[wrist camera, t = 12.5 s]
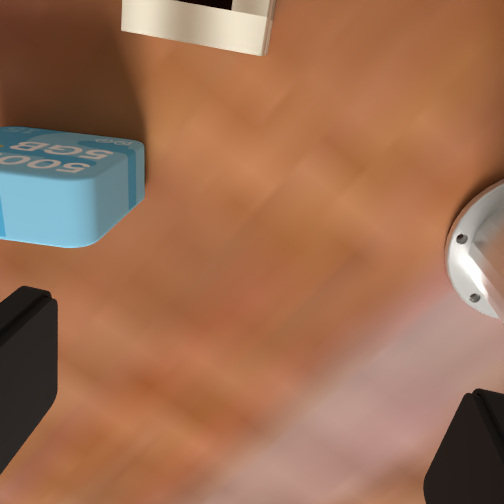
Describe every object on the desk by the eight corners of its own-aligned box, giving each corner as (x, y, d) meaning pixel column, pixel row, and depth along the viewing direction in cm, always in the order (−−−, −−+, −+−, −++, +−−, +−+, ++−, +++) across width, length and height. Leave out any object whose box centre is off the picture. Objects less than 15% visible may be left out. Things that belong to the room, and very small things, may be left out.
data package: (150, 141, 37) (84, 180, 26) (150, 194, 39) (88, 252, 28) (7, 124, 38) (-115, 155, 27) (14, 177, 40) (-98, 227, 29)
